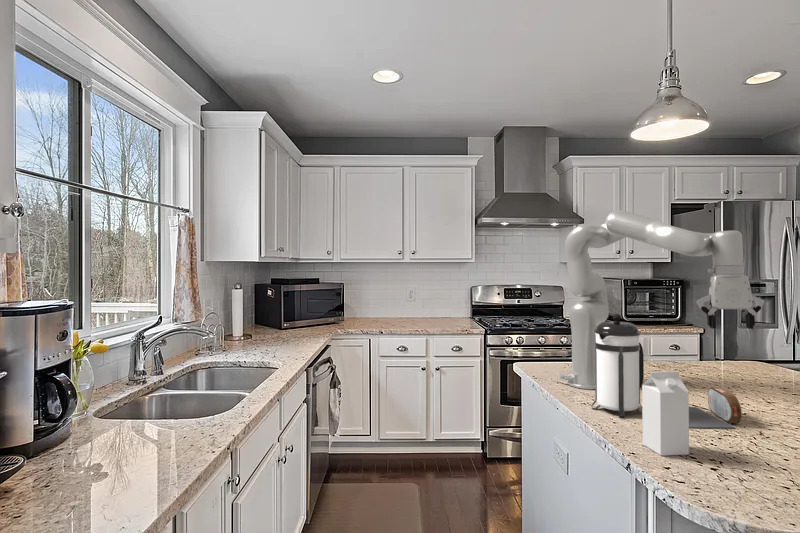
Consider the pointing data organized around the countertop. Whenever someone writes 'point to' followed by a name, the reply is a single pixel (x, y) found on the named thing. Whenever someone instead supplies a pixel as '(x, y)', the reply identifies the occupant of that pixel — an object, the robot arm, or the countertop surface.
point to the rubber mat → (705, 420)
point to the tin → (724, 404)
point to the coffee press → (618, 366)
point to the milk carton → (665, 414)
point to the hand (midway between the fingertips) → (730, 328)
